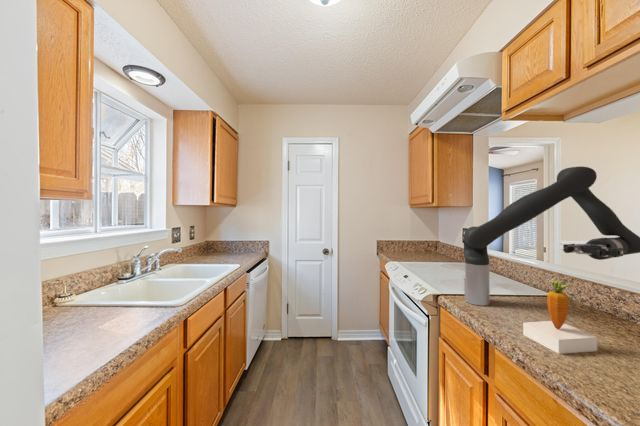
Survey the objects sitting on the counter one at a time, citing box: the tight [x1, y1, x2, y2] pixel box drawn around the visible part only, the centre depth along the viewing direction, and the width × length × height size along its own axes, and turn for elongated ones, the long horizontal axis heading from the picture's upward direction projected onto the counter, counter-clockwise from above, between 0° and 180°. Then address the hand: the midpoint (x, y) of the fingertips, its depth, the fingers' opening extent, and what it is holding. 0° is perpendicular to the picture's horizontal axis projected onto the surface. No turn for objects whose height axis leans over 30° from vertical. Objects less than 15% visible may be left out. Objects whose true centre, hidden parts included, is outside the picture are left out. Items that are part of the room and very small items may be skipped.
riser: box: [522, 320, 598, 355], centre depth 84 cm, size 12×12×4 cm
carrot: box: [546, 280, 570, 329], centre depth 84 cm, size 5×5×15 cm
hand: (581, 251), depth 93 cm, fingers open, 8 cm apart
